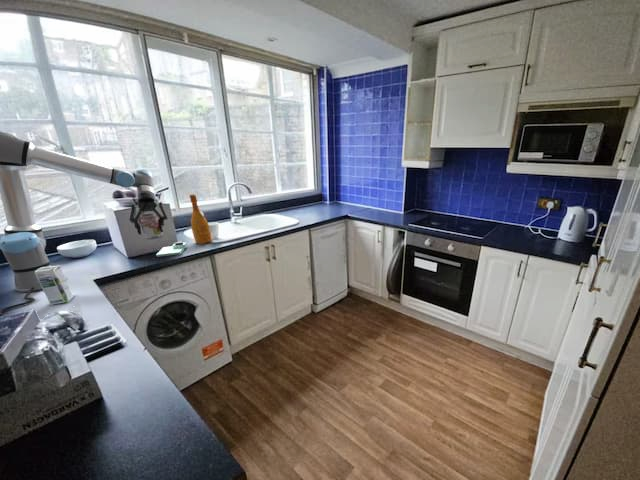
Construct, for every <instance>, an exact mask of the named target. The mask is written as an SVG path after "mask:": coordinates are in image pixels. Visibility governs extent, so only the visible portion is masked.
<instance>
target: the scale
mask: <svg viewBox="0 0 640 480" xmlns="http://www.w3.org/2000/svg"><path fill="white" fill-rule="evenodd" d="M186 248H187V243H186V242H183V244H182V245H177V246H176V245H175V243H173V244H172V246H163V247H162V248H161V249H160V250H159V251H158V252H157V253H156V254H155V256H156V258H159V257H160V258H161V257H168V256H169V257H170V256H178V255H181V254H182V253H183V252H184V250H185V249H186Z"/></svg>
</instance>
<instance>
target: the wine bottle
mask: <svg viewBox="0 0 640 480" xmlns="http://www.w3.org/2000/svg"><path fill="white" fill-rule="evenodd" d="M189 200H190V203H191V207H192V214H191V219H190V228H191V231H192V234H193V238H194V241H195V243H196V244H199V245H203V244H208V243H210V242H212V240H213V239H212V233H211V228H210V225H209V223H208V222H209V221H208V220H207V218H206V217H205V213H204V212H203V210H201V209H200V207H199V206H198V199H197V196H196V194H190V195H189Z"/></svg>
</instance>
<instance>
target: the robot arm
mask: <svg viewBox="0 0 640 480" xmlns="http://www.w3.org/2000/svg"><path fill="white" fill-rule="evenodd" d="M30 165H32V166H33V165H34V166H37V167H40V168H41V167H42V168H46V169H49V170H55V171H58V172H62V173H66V174H69V175H70V174H71V175H75V176H78V177H82V178H86V179H90V180H95V181H99V182H103V183H107V184H110V185H115V186H119V187H122V188H125V189H129V188H136V191H137V192H136V194H137V202H138V203H137V204H130V207H131V210H130V214H129V221H130V223H131V224H134V229H136V231H137V234H139V236H142V226H141V225H139V224H138V219H139V218H140V216H141V215H144V214H146V213H147V212H153V214H156V217H157V218H158V219H159V227H160V231H161V232H163V233H164V230H163V227H164V226H165V220H169V218H168V216H167V214H166V211H165V209H164V204H163V202H162V201H159V202H157V201H156V194H155V193H156V192H155V187H154V186H155V185H154V177H153V174H152V172H150V171H149V170H147V169H144V168H143V169H137V170H136V171H128V170H123V169H119V168H114V167H111V166H107V165H103V164H100V163H96V162H93V161H90V160H86V159H82V158H79V157H76V156H71V155H67V154H64V153H60V152H57V151H53V150H50V149H47V148H42V147H39V146H35V145H34V144H33V143H32V142H30V141H27V140H23V139H20V138H19V137H17V136H16V135H13V134H12V133H8V132H4V131H1V130H0V198H1V202H2V207H3V210H4V214H5V219H6V223H7V225H6V226H5V227H4V228H3V232H4V235H3V236H2V237H0V250H1V252H2V253H3V256H4V257H5V259H6V261H7V263H8V265H9V267H10V268H11V270H12V272H13V275H14V289H15V290H16V292H18V293H25V295H24V296H23V299H24V300H27V301H24V302H20V303H16V304H12V305H9V306H6V307H3V308H1V309H0V317H1V316H3V315H5V314H4V312H5V311H7V310H11V309H15V308H18V307H21V306H25V305H29V304H31V303H33V302H34V301H35V300H36V299H35V297H29V296H30V295H31V293H32V292H37V291H41V290H42V291H43V289H42V287H41V285H40V283H39V281H38V279H37V277H36V275H35V273H34V272H35V271H36V270H37V269H39V268H41V267H49V266H52V264H51V262H50V260H49V257H48V256H47V253H46V251H45V249H46V248H47V240H46V238H45V236H44V232H43V228H42V226H40V225H38V224H37V222H36V218H35V214H34V208H33V203H32V200H31V195H30V191H29V186H28V180H27V177H26V173H25V171H26V170H27V169H28V168H29V166H30ZM156 207H158V208H159V209H160V211H161V213H159V211H158V210H157V208H156ZM138 208H139V209H138ZM137 211H138V212H137ZM161 214H162V215H161Z"/></svg>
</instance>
